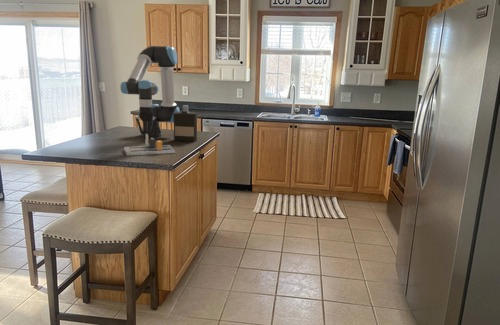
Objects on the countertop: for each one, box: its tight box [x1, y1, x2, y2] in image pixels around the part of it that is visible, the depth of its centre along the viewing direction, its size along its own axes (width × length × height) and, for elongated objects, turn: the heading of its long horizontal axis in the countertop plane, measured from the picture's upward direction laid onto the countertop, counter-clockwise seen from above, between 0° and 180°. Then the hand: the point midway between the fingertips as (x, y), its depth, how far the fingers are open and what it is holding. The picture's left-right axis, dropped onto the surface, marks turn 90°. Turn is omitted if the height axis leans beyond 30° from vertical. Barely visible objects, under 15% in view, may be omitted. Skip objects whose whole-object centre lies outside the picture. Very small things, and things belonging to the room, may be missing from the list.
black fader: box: [148, 137, 156, 147], centre depth 223 cm, size 4×3×5 cm
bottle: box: [173, 104, 198, 143], centre depth 254 cm, size 8×16×25 cm, turn 88°
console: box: [123, 144, 176, 157], centre depth 219 cm, size 15×28×2 cm, turn 114°
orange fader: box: [155, 140, 163, 150], centre depth 216 cm, size 4×3×5 cm
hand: (146, 144), depth 222 cm, fingers closed
